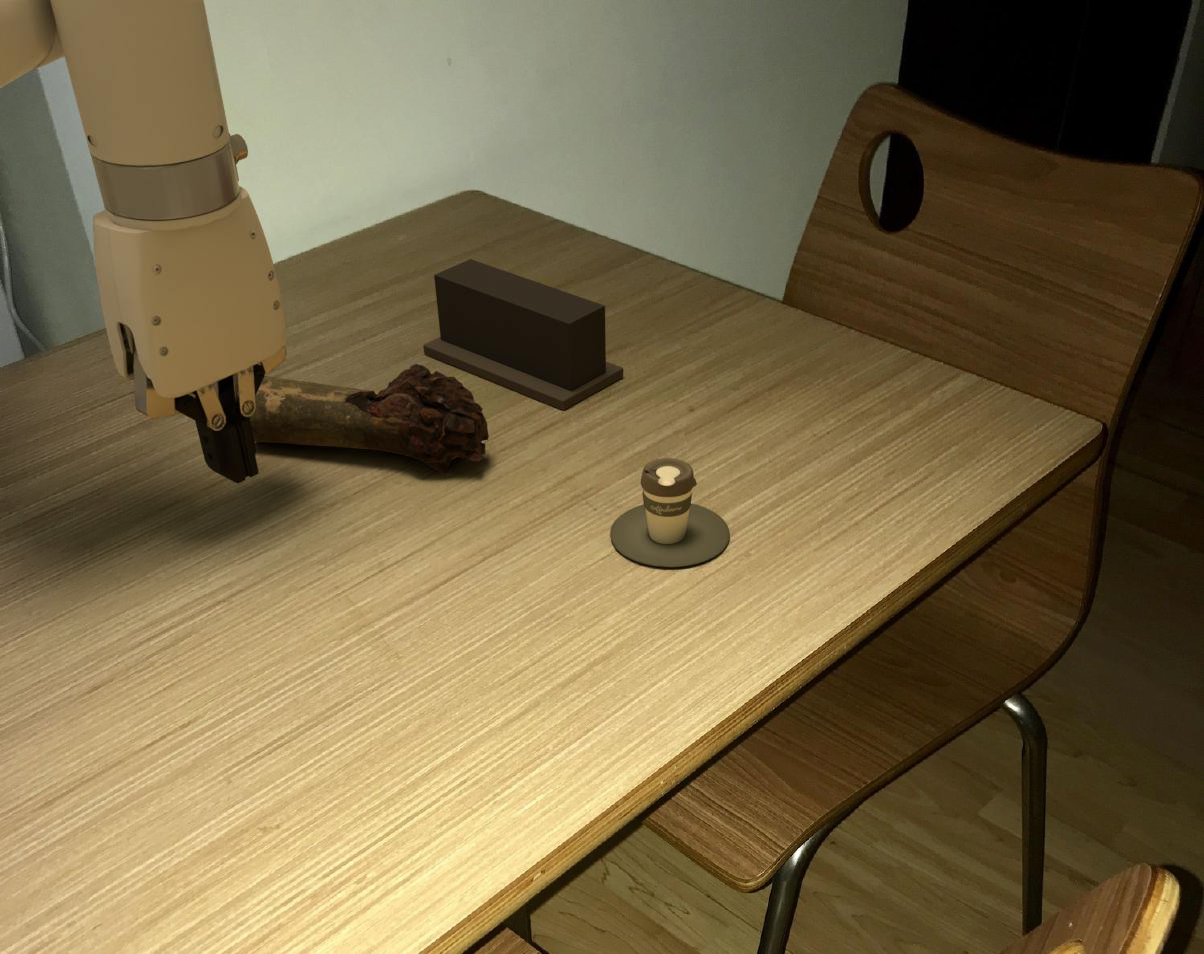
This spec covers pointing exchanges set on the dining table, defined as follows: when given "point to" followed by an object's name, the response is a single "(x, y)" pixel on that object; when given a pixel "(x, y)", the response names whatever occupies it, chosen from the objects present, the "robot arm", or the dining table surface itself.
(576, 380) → the dark brown block stand
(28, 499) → the dining table surface
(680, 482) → the coffee cup
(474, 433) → the gnarled wood log
